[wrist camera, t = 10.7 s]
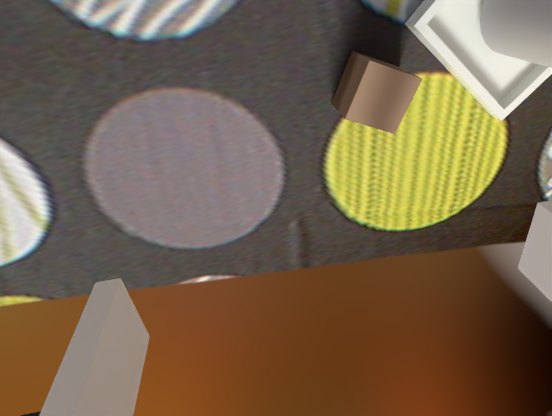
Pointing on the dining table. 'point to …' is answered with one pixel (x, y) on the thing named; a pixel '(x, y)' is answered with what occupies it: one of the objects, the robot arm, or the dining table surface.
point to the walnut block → (374, 92)
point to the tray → (474, 55)
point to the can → (519, 29)
